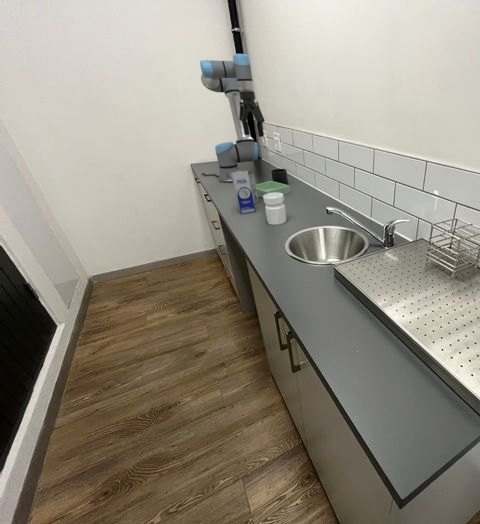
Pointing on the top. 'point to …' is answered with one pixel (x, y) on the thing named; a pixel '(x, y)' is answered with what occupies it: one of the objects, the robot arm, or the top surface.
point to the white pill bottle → (275, 208)
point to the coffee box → (253, 186)
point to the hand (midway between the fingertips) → (254, 135)
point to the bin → (272, 188)
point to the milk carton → (243, 191)
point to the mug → (280, 176)
